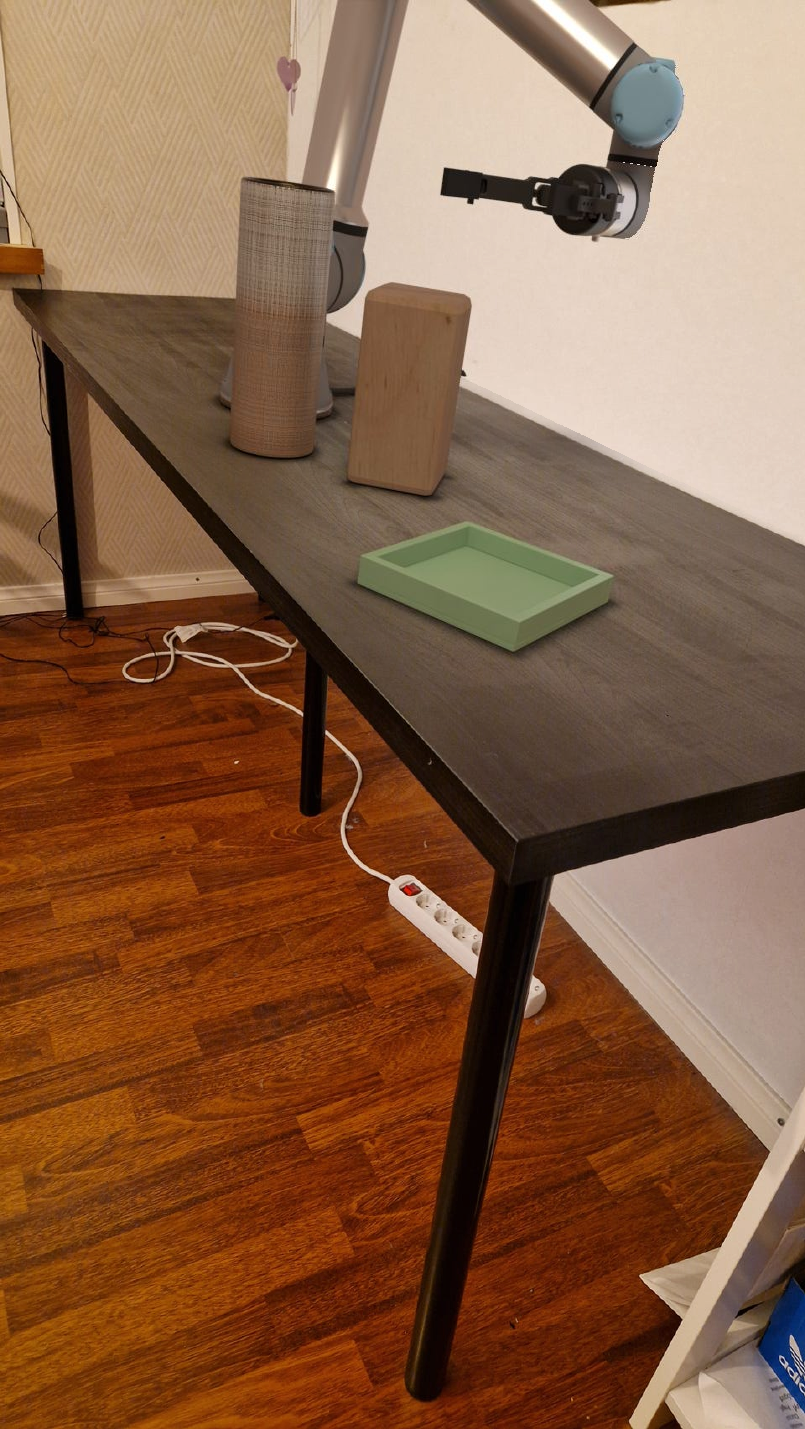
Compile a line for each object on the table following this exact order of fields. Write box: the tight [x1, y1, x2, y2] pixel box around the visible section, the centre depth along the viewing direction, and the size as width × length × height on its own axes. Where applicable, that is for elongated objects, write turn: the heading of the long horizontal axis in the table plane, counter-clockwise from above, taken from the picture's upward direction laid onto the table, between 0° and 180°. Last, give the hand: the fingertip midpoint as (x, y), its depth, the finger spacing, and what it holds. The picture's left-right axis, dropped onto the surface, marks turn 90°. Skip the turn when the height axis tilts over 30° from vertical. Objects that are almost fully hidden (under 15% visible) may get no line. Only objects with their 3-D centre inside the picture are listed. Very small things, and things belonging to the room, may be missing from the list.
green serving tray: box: [356, 520, 615, 653], centre depth 84 cm, size 16×16×3 cm
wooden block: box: [346, 281, 473, 497], centre depth 105 cm, size 10×10×20 cm
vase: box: [229, 176, 335, 460], centre depth 108 cm, size 10×10×28 cm
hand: (495, 190), depth 101 cm, fingers open, 13 cm apart
